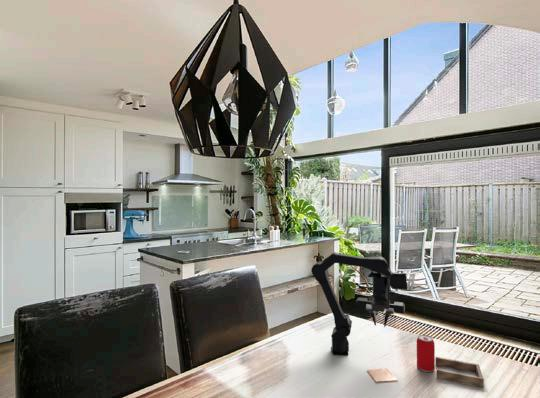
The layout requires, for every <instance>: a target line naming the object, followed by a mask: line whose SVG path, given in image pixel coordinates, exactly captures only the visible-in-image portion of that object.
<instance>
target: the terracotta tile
mask: <svg viewBox="0 0 540 398" xmlns="http://www.w3.org/2000/svg"><path fill="white" fill-rule="evenodd" d="M367 373H368V374H369V376H370V377H371V378H372V379H373V381H374V382H375V383H376V384H379V383H394V382H395V383H396V382H398V379H397V378H396V377H395V375H394V374H393V373H392V372H391V371H390V370H389V368H373V369H367Z"/></svg>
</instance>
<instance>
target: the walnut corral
mask: <svg viewBox="0 0 540 398" xmlns="http://www.w3.org/2000/svg"><path fill="white" fill-rule="evenodd" d="M435 366H437V368H436V369H435V371H436V375H435V376H436V377H435V378H436V379H439V380H445V381H449V382H454V383H457V384H458V383H459V384H463V385H466V386H467V385H468V386H472V387H473V386H474V387H477V388H483V389H484V388H485V386H484V383H485V382H484V377H483V376H484V375H483V373H482V369H481V366H480V364H479V363H473V362H468V361H463V360H456V359H452V358H446V357H440V356H435Z"/></svg>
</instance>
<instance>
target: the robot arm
mask: <svg viewBox="0 0 540 398" xmlns="http://www.w3.org/2000/svg"><path fill="white" fill-rule="evenodd" d="M335 264H339V265H340V264H341V265H347V266H354V267H359V268H364V269H367V270H368V271H369V270H370V272H368V273H367V277H368V278H372V297H371V301H370V300H368V298H367V297H358V298H357V299H356V300H355V307H356V308H357V309H359V308H360V309H364V308H365V311H367V312H369V313H370V315H371V318H372V321H373V324H374V326H376V325H377V316H376V314H377V313H376V312H380V313H385V314H384V322H383V327H384V328H386V326H387V323H388V319H389V317H390V315H394V313H395V314H396V313H397V314H405V310H406V308H405V306H406V304H405V303H404V302H400V301H394V303H391V301H390V299H388V286H389V287H390V288H391V289H392V290H397V291H398V290H399V291H408V282H407V272H395V271H394V272H393V271H392V270H391V268H390V267H389V266H388V262H387V260H386V259H385V257H383V256H380V255H379V256H358V255H351V254H345V253H338V252H332V253H331V254H330V255H328V256H327V257H326V258H323V260H322V261H317V262H315V264H314V265H312V267H311V275H312V276H313V277H314V279H315V280H316V281H317V283H318V284H319V285H320V288H321V289H322V291H323V294H324V296H325V299H326V300H327V303H328V305H329V308H330V311H331V313H332V315H333V320H334V327H333V329H332V333H331V347H330V349H331V354H332V355H333V356H335V355H336V356H348V355H349V351H350V349H349V347H350V346H349V345H350V342H349V339H348V337H349V336H350V334H351V330H352V324H353V320H351V318H350V314H349V313H345V312H344V311H343V309H342V307H341V304H340V302H339V300H338V298H337V296H336V293H335V291H334V288H333V286H332V284H331V281H330V276H329V269H330V268H331V267H332V266H333V265H335Z"/></svg>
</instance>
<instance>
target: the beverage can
mask: <svg viewBox="0 0 540 398" xmlns="http://www.w3.org/2000/svg"><path fill="white" fill-rule="evenodd" d="M435 350H436V349H435V340H434V338H433V337H432V336H430V335H427V334H419V335H418V336H417V338H416V367H417V369H419V370H420V371H422V372H426V373H430V372H431V373H432V372H433V371H436V369H435V368H436V364H435V357H436V356H435V354H436V352H435Z"/></svg>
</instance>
